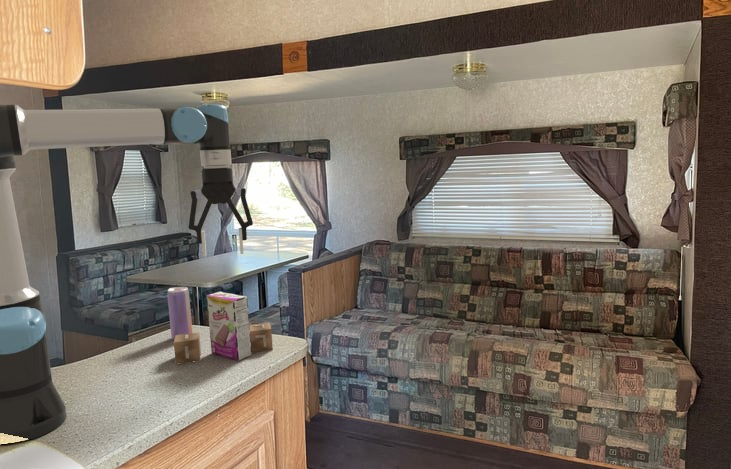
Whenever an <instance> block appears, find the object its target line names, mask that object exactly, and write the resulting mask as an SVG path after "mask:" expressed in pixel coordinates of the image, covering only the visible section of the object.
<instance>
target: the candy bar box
mask: <svg viewBox="0 0 731 469" xmlns="http://www.w3.org/2000/svg"><path fill="white" fill-rule="evenodd" d="M206 305H207V317H208V325H209V326H208V327H209V328H208V329H209V335H210V337H209V338H210V349H211V350H210V351H211V353H212V354H214V355H218V356H221V357H224V358H229V359H231V360H234V361H238V362H240V361H242V360H245V359H246V358H249V357H251V356H252V353H253V352H251V341H250V328H249V325H250V318H249V303H248V296H245V295H240V294H235V293H231V292H230V293H229V292H225V291H216V292H213V293H210V294H207V295H206Z"/></svg>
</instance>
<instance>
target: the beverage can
mask: <svg viewBox="0 0 731 469" xmlns="http://www.w3.org/2000/svg"><path fill="white" fill-rule="evenodd" d="M166 295H167V304H168V306H167V307H168V314H169V316H168V317H169V324H170V325H169V326H170V336H171V339H172V341H174V340H175V336H176V335H181V334H190V333H193V325H192V324H193V323H192V312H191V303H190V302H191V301H190V290H189V287H187V286H175V287H170V288H168V289H167V294H166Z"/></svg>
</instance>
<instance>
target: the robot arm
mask: <svg viewBox="0 0 731 469" xmlns="http://www.w3.org/2000/svg"><path fill="white" fill-rule="evenodd" d="M230 141H231V140H230V122H229V114H228V109H227V107H226V106H224V105H222V104H216V103H215V104H214V103H213V104H199V105H197V107H196V108H195V107H192V106H191V107H190V106H182V107H178V108H177V107H176V108H101V109H99V108H94V109H92V108H90V109H24V108H22V107H20V106H19V105H18V104H0V433H4V434H8V435H13V436H19V437H23V438H28V439H31V440H33V439H37V438H39V437H41V436H45V435H47V434H48V433H50V432H52V431H54V430H56V429H57V428H58V427H60V426H61V425H62V424H64V422H65V421H66V419H67V417H68V416H67V410H66V408H67V407H66V405H65V402H64V400H63V399H62V397H61V396H60V394H59V392H58V390H57V388H56V387H55V384H54V382H53V377H52V371H51V370H52V369H51V368H52V367H51V361H50V354H49V347H48V346H49V345H48V337H47V321H46V320H47V319H46V316H45V314H44V311H43V305H42V300H41V296H40V291H39V290H38V289H35V288H34V287H32V286H31V285H30V280H29V274H28V270H27V264H26V260H25V259H26V258H25V254H24V249H23V242H22V237H21V233H20V227H19V222H18V221H19V220H18V218H17V216H18V215H17V213H16V208H15V207H16V206H15V200H14V195H13V191H12V186H11V180H10V178H11V176H12V175H13V174H14V172H16V170H17V168H16V161H15V157H16V156H25V155H26V154H28V152H29V151H31V150H32V151H33V150H50V149H70V148H72V149H73V148H93V147H95V148H96V147H111V146H112V147H117V146H136V145H138V146H140V145H141V146H142V145H153V146H155V145H157V146H158V145H159V146H166V145H169V146H172V145H174V146H175V145H199V155H200V157H199V158H200V164H201V165H200V166H201V167H203V168H202V169H201V178H202V185H201V186H202V187H201V189H197V190H191V191H190V196H191V205H190V206H191V207H190V213H189V214H190V215H189V221H188V229H189V230H192V231H195V232H196V233H195V234H196V242H197V244H198V245H201V246H202V247H201V248H202V256H203V258H206V257H207V242H206V231H205V230H202V228H203V226H204V224H205V221H206V218H207V216H208V214H209V211H210V209H211V207H212V205H217V204H222V205H223V204H227V205H228V207H229V209H230V210H231V212H232V213H233V215H234V217H235V219H236V220H237V222H238V224H239V226H240V227H238V237H239V250H240V251H239V252H240V255H243V254H244V242H243V241H247V239H248V235H247V229H248V228H249V227H251V226H252V225H253V224H254V223H253V222H254V221H253V219H252V215H251V210H250V208H249V205H248V202H247V199H246V197H247V196H246V193H247V190H246V188H245V187H241V188H240V187H235V185H234V177H233V168H232V167H230V166H231V165H232V153H231V152H232V151H231V142H230ZM14 156H15V157H14ZM235 193H236V195H237V196H238V197H240V200H241V204H242V208H243V211H244V214H245V218H246V221H244V219H243V217H242V216H241V214H240V212H239V211H238V209H237V207H236V206H235V204H234V201H233V200H232V197H233V195H234V194H235ZM201 194H202V195H203V196H204V198H206V200H207V202H206V204H205V207H204V209H203V211H202V214H201V215H200V219H199V221H198V223H197V224H195V222H196V214H197V208H198V199H200V197H201Z"/></svg>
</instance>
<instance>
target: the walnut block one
mask: <svg viewBox="0 0 731 469" xmlns="http://www.w3.org/2000/svg"><path fill="white" fill-rule="evenodd" d="M173 349H174V359H175V365H178V364H177V363H183V364H187V363H186V362H191V363H194V362H193V361H199V362H201V357H200V356H201V355H202V348H201V340H200V332H192V333H190V334H181V335H176V336H175V340H173Z"/></svg>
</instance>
